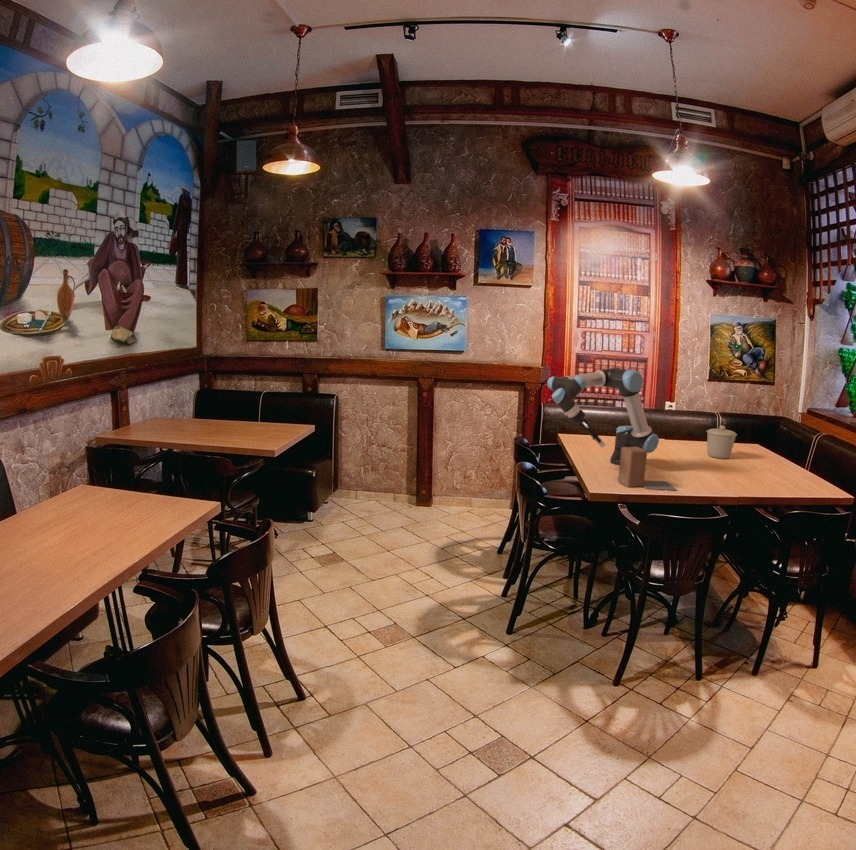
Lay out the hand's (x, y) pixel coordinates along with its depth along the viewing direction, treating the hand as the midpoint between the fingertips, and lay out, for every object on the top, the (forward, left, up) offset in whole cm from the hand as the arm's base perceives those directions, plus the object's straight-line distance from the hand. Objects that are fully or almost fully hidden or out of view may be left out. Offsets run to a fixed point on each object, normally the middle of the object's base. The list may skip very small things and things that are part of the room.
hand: (603, 446), depth 322 cm
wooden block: (0, +17, -21) cm, 27 cm away
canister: (-75, +98, -21) cm, 125 cm away
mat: (0, +31, -21) cm, 37 cm away
